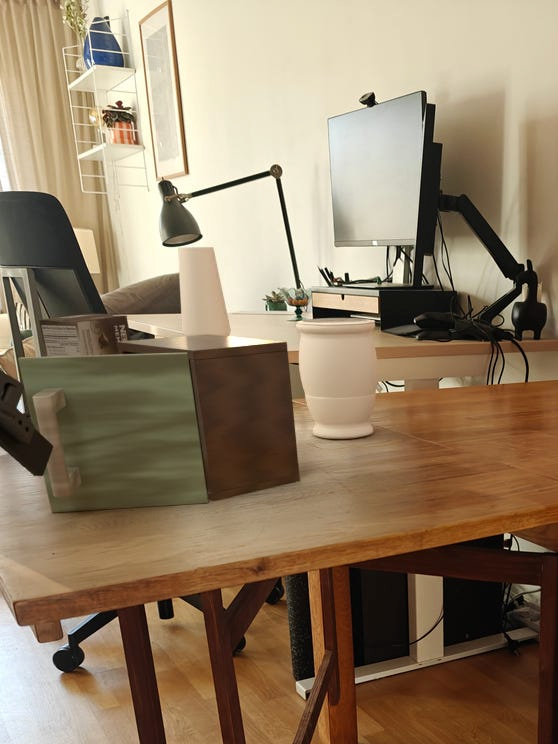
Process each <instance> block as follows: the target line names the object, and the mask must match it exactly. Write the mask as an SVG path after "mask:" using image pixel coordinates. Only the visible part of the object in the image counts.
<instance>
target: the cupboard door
mask: <svg viewBox="0 0 558 744" xmlns="http://www.w3.org/2000/svg"><path fill="white" fill-rule="evenodd" d="M17 360H18V364H19V369H20V373H21V379H22V384H23V385H24V393H25V396H26V401H27V405H28V406H27V407H28V411H30V415H31V417H30V421H31V422H32V423H33V424H34V427H35V429H36V430H37V431H38V432H39V433H40V434H41V435H42V436H43V437H45V438H46V439H47V440H48V441H49V442H50V443H51V444H52V445H53V449H52V452H51V455H50V458H49V461H48V463H47V466H46V469H45V472H44V475H43V480H44V485H45V489H46V493H47V497H48V502H49V507H50V511H51V513H52V514H53V513H54V514H55V513H68V512H86V511H87V512H88V511H102V510H115V509H116V510H118V509H132V508H133V509H134V508H135V509H136V508H148V507H150V508H151V507H165V506H166V507H167V506H180V505H181V506H182V505H196V504H197V505H198V504H208V503H209V500H208V494H207V487H206V480H205V472H204V465H203V458H202V451H201V444H200V437H199V430H198V422H197V415H196V408H195V401H194V394H193V387H192V380H191V372H190V365H189V358H188V353H153V354H120V355H86V356H52V357H46V356H24V357H23V356H22V357H18V358H17Z"/></svg>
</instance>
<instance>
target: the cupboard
mask: <svg viewBox="0 0 558 744" xmlns="http://www.w3.org/2000/svg"><path fill="white" fill-rule="evenodd" d="M117 346H118V350H119V351H118V353H119V355H120V354H153V353H188V358H189V365H190V372H191V380H192V387H193V394H194V401H195V408H196V415H197V422H198V430H199V437H200V444H201V451H202V458H203V465H204V472H205V480H206V487H207V494H208V501H211V502H217V501H221V500H224V499H225V500H226V499H230V498H234V497H238V496H242V495H247V494H252V493H256V492H260V491H265V490H269V489H273V488H277V487H281V486H285V485H286V486H287V485H290V484H294V483H298V482H301V477H300V476H301V475H300V468H299V457H298V456H299V455H298V446H297V445H298V444H297V436H296V434H297V433H296V425H295V423H296V422H295V413H294V403H293V394H292V392H293V391H292V384H291V383H292V381H291V380H292V379H291V372H290V361H289V350H288V342H287V341H284V340H283V341H281V340H273V339H272V340H271V339H263V338H250V337H240V336H230V335H229V336H219V335H209V334H206V335H193V336H184V335H183V336H173V337H171V336H169V337H158V338H146V339H145V338H143V339H134V340H132V339H131V341H119V342H117Z"/></svg>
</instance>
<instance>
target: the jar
mask: <svg viewBox="0 0 558 744" xmlns="http://www.w3.org/2000/svg"><path fill="white" fill-rule="evenodd" d="M375 322H376V321H375V320H374V319H368V318H359V317H357V318H355V317H327V318H325V317H324V318H323V317H322V318H309V319H303V320H298V321H296V322H295V323H296V324H295V328H296V330H297V332H299V333H300V338H299V339H300V340H299V346H298V367H299V376H300V381H301V386H302V388H303V392H304V399H305V403H306V405H307V409H308V412H309V414H310V416H311V417H312V420H314V423H315V424H314V426H313V428H312V435H314V436H315V437H318V438H322V439H330V440H349V439H359V438H363V437H368V436H370V435H372V434H373V433H374V428H373V426H372V424H371V422H370V419H371V418H372V415H373V413H374V410H375V405H376V398H377V393H376V392H377V387H378V373H379V371H378V370H379V369H378V368H379V367H378V356H377V350H376V346H375V345H376V344H375V341H374V338H373V335H372V331H374V330H375V328H376V323H375Z"/></svg>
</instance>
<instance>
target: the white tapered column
mask: <svg viewBox="0 0 558 744" xmlns="http://www.w3.org/2000/svg"><path fill="white" fill-rule="evenodd" d="M177 254H178V275H179V291H180V292H179V293H180V296H179V297H180V313H181V314H180V315H181V332H182V334H183V336H193V335H206V334H209V335H219V336H230V335H231V329H232V328H231V325H230V319H229V316H228V310H227V306H226V301H225V296H224V292H223V287H222V282H221V277H220V273H219V267H218V263H217V259H216V254H215V249H214V247H213V246H209V247H208V246H207V247H206V246H204V247H203V246H202V247H201V246H197V247H196V246H193V247H192V246H191V247H189V246H188V247H185V246H184V247H177Z"/></svg>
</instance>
